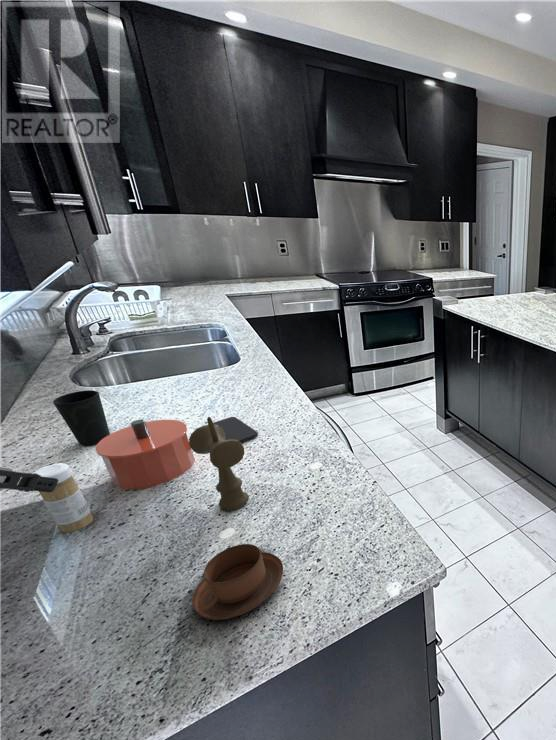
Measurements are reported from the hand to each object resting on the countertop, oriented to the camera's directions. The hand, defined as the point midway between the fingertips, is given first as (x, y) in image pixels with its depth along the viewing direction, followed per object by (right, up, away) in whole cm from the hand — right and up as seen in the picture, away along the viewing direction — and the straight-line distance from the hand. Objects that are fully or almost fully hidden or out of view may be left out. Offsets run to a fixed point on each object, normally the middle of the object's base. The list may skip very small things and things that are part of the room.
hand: (30, 483), depth 66 cm
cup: (-25, +2, +35) cm, 43 cm away
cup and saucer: (+36, -17, -2) cm, 40 cm away
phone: (+5, +3, +40) cm, 41 cm away
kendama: (+23, -8, +16) cm, 29 cm away
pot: (+1, -4, +23) cm, 23 cm away
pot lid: (+1, +5, +19) cm, 20 cm away
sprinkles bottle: (0, -11, +8) cm, 13 cm away
